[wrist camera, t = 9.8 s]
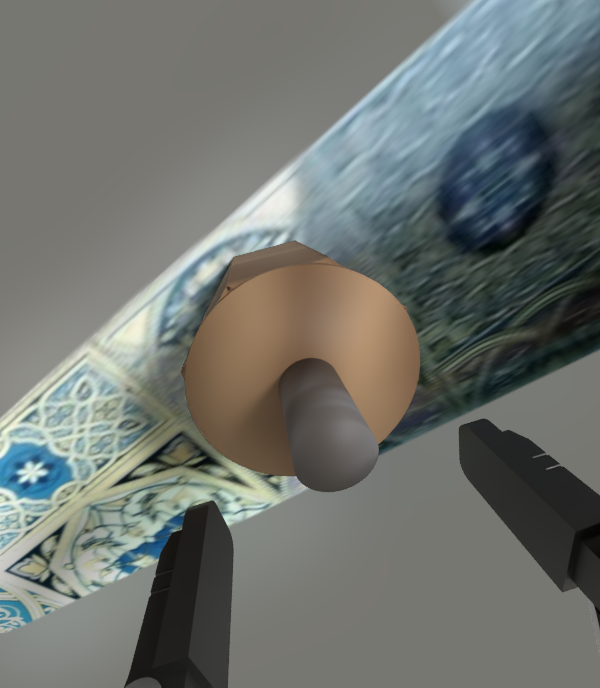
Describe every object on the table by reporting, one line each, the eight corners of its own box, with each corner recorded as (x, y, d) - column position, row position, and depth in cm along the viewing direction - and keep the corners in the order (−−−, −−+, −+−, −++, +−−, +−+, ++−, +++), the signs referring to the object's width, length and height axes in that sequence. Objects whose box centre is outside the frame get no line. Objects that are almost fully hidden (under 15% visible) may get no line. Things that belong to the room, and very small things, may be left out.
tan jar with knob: (338, 226, 23) (499, 243, 8) (361, 359, 28) (489, 517, 13) (187, 266, 22) (78, 360, 8) (236, 395, 27) (227, 604, 13)
